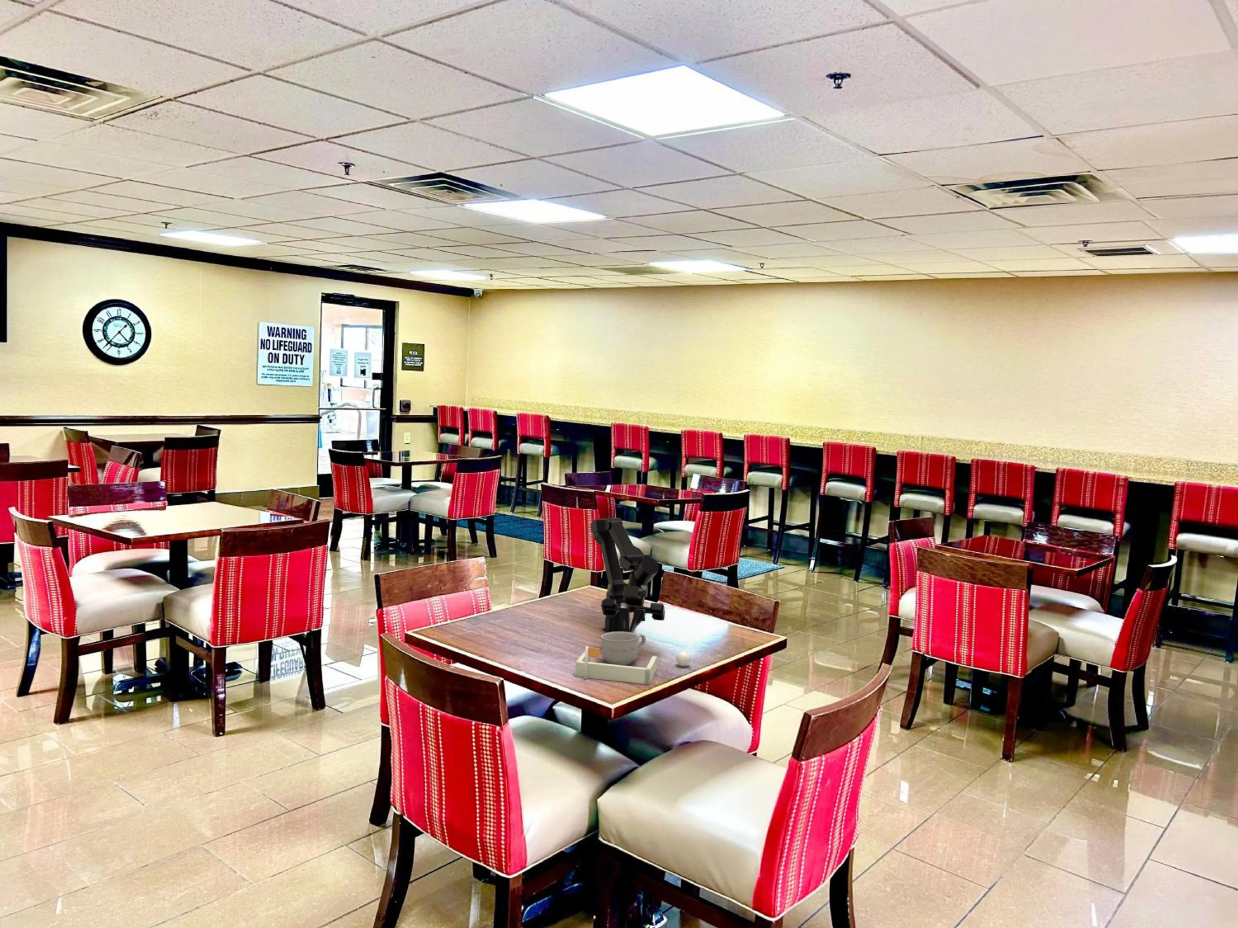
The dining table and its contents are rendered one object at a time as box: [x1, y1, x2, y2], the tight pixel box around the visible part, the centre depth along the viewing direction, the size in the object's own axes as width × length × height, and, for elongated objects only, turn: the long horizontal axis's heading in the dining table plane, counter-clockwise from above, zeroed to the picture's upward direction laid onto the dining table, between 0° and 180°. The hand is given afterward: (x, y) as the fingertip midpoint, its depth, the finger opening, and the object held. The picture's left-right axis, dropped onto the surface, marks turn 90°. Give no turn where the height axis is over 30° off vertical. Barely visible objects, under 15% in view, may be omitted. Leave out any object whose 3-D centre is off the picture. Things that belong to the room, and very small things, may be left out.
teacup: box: [600, 632, 647, 666], centre depth 252 cm, size 14×11×8 cm
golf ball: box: [675, 650, 692, 667], centre depth 251 cm, size 4×4×4 cm
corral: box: [574, 645, 658, 685], centre depth 241 cm, size 14×20×9 cm
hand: (628, 634), depth 257 cm, fingers closed
